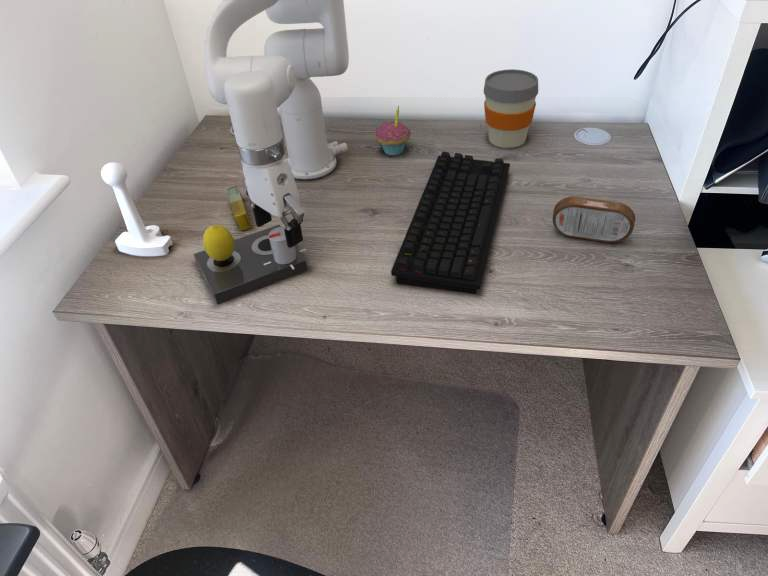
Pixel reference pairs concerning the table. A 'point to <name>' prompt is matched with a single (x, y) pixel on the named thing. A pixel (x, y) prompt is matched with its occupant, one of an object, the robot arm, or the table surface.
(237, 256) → the burners
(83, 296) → the table surface
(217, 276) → the hob
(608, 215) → the tin
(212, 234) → the lemon
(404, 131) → the cupcake
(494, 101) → the reusable coffee cup
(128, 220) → the joystick
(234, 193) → the medication box
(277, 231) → the hob knob
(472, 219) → the keyboard
